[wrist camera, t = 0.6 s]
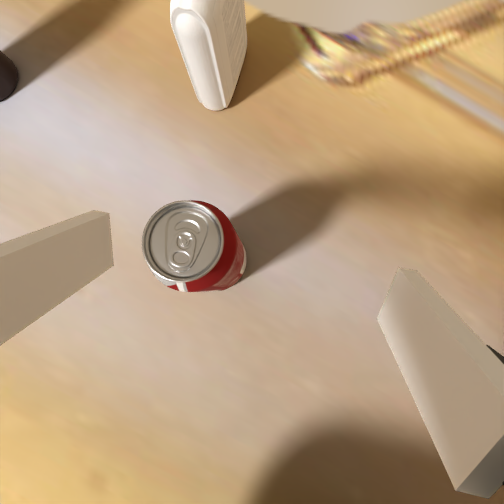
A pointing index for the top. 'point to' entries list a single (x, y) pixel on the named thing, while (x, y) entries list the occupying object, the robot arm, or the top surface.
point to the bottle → (7, 76)
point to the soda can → (193, 247)
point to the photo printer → (211, 46)
